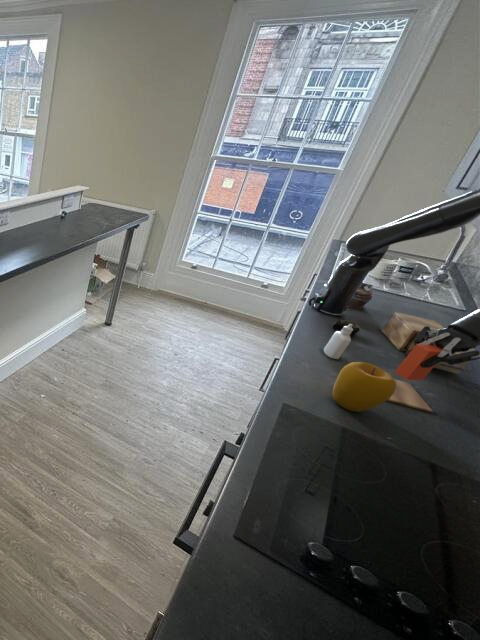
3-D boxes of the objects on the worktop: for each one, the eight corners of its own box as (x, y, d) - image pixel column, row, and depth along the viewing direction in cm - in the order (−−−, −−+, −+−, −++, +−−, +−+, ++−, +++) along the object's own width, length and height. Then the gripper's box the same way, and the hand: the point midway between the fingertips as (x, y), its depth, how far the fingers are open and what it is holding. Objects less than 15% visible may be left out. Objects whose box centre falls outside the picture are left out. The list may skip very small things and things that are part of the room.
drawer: (466, 380, 125) (481, 364, 121) (423, 370, 128) (436, 354, 125) (436, 352, 139) (448, 337, 136) (398, 343, 142) (409, 328, 139)
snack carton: (394, 372, 117) (416, 344, 112) (410, 372, 118) (432, 344, 113) (406, 379, 114) (430, 351, 109) (422, 379, 115) (446, 351, 110)
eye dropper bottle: (339, 354, 134) (360, 324, 128) (337, 361, 130) (359, 330, 124) (323, 348, 136) (343, 318, 130) (321, 354, 133) (341, 324, 127)
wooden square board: (378, 398, 115) (379, 396, 114) (360, 371, 126) (361, 370, 125) (431, 412, 111) (433, 411, 110) (407, 384, 122) (409, 382, 122)
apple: (383, 417, 107) (415, 380, 101) (352, 421, 105) (383, 383, 98) (343, 390, 116) (369, 354, 110) (314, 393, 114) (339, 356, 107)
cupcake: (336, 297, 177) (349, 276, 172) (364, 305, 172) (378, 284, 167) (335, 303, 171) (349, 282, 165) (364, 312, 165) (379, 290, 160)
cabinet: (441, 360, 137) (458, 340, 132) (398, 349, 140) (414, 330, 136) (420, 339, 148) (435, 320, 144) (381, 330, 152) (394, 311, 148)
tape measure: (329, 330, 149) (334, 321, 147) (335, 325, 152) (341, 317, 150) (351, 339, 144) (357, 330, 142) (357, 334, 148) (363, 325, 146)
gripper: (450, 304, 113) (387, 339, 117) (514, 331, 101) (440, 369, 105) (453, 320, 116) (391, 354, 121) (514, 348, 104) (443, 384, 109)
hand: (414, 361), depth 113 cm, fingers closed on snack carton, 3 cm apart
